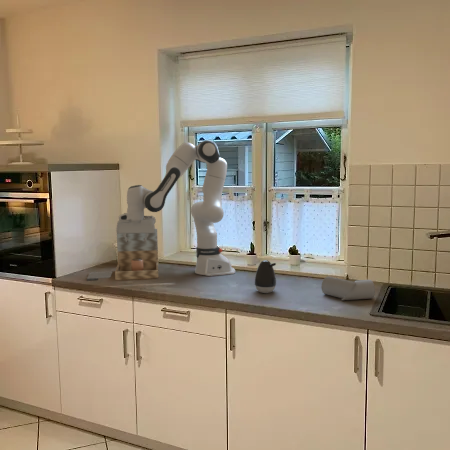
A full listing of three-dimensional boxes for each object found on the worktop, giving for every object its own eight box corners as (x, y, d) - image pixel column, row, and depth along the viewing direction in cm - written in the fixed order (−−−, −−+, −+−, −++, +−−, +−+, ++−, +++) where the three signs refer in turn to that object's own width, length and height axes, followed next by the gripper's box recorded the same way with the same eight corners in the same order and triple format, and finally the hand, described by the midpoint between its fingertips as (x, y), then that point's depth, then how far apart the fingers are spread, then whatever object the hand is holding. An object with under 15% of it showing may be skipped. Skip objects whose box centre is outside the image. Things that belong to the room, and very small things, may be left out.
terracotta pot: (143, 272, 258) (143, 258, 257) (143, 275, 252) (143, 260, 251) (131, 273, 257) (131, 258, 256) (131, 275, 251) (130, 260, 250)
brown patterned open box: (158, 270, 266) (157, 228, 262) (158, 279, 246) (157, 234, 243) (118, 272, 263) (116, 229, 259) (115, 281, 243) (113, 235, 240)
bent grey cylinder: (334, 302, 202) (377, 299, 206) (332, 277, 203) (375, 275, 207) (318, 299, 220) (358, 296, 223) (317, 276, 220) (356, 274, 224)
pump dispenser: (270, 296, 216) (270, 263, 214) (250, 292, 221) (250, 261, 219) (280, 290, 224) (280, 259, 222) (260, 287, 230) (260, 257, 228)
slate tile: (112, 273, 261) (112, 271, 261) (110, 279, 248) (110, 277, 248) (90, 274, 260) (90, 272, 260) (86, 280, 246) (86, 278, 246)
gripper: (155, 215, 255) (155, 240, 256) (116, 215, 252) (117, 240, 253) (155, 216, 248) (155, 242, 250) (115, 216, 245) (116, 242, 247)
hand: (136, 241), depth 252 cm, fingers open, 8 cm apart
